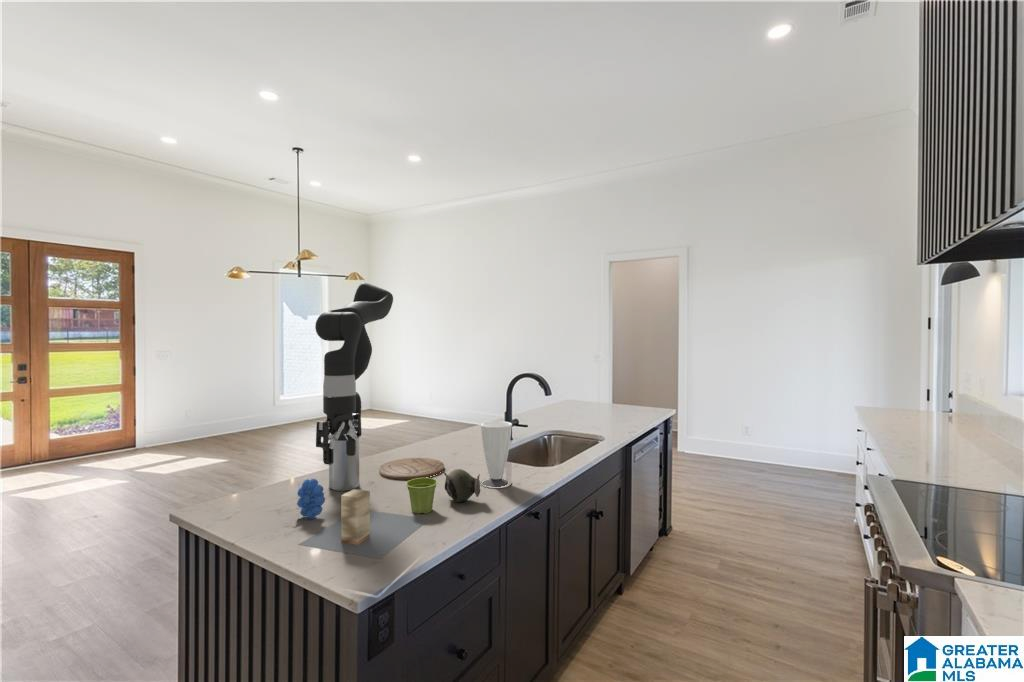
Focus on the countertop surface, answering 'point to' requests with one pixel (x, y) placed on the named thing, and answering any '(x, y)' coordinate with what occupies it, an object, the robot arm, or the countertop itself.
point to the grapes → (311, 498)
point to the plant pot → (421, 494)
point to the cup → (496, 450)
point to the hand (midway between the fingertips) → (340, 459)
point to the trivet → (411, 468)
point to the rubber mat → (382, 539)
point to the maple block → (355, 516)
